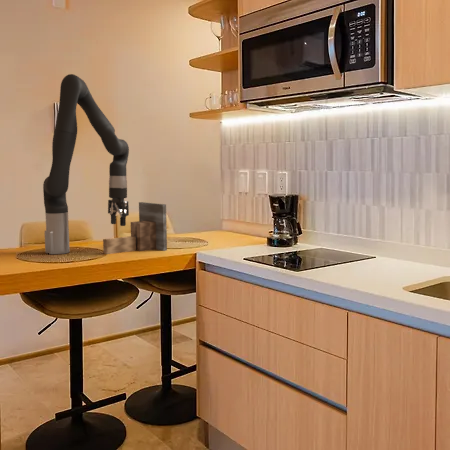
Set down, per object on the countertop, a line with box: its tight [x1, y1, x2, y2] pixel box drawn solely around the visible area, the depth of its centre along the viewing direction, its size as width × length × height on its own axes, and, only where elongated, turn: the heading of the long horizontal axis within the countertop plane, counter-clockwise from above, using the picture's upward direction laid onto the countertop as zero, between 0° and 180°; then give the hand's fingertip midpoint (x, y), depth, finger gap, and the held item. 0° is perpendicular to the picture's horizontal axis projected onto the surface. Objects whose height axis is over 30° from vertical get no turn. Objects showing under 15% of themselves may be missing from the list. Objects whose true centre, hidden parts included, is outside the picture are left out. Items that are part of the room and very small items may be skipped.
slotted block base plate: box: [130, 201, 168, 252], centre depth 238 cm, size 10×20×20 cm, turn 40°
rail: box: [102, 235, 138, 255], centre depth 232 cm, size 18×3×6 cm, turn 130°
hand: (118, 224), depth 229 cm, fingers open, 8 cm apart
